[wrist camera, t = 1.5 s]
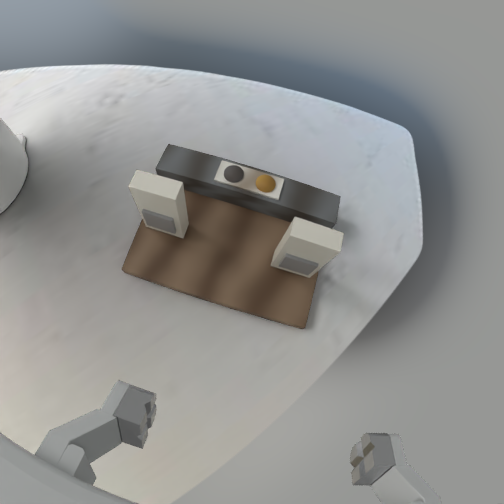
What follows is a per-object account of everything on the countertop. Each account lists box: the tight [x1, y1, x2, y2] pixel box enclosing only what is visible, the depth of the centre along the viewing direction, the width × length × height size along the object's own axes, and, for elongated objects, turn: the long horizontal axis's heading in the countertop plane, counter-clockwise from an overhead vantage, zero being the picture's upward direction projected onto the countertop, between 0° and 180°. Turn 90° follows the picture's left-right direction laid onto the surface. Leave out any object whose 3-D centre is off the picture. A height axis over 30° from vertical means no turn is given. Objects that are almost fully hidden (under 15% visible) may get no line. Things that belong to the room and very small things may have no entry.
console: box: [122, 144, 341, 329], centre depth 38 cm, size 23×18×6 cm
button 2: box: [128, 170, 189, 238], centre depth 33 cm, size 5×2×10 cm, turn 74°
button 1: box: [271, 217, 344, 278], centre depth 34 cm, size 5×2×10 cm, turn 74°
